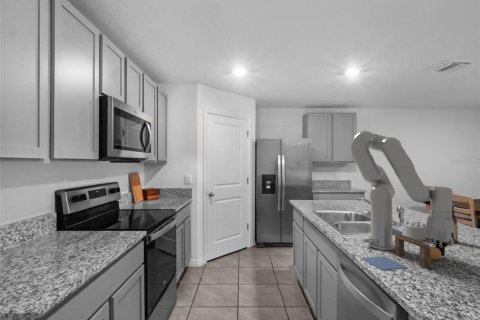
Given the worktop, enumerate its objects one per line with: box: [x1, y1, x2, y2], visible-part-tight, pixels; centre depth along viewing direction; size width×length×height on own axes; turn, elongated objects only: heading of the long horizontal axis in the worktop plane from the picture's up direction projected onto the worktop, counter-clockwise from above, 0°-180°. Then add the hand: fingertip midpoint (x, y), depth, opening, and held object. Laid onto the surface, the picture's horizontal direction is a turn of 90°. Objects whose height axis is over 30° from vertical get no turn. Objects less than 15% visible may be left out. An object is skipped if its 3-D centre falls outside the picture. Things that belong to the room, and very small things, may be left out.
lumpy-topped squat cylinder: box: [403, 220, 427, 241], centre depth 138 cm, size 10×13×9 cm
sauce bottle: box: [452, 204, 459, 244], centre depth 130 cm, size 7×6×20 cm
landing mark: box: [361, 255, 408, 271], centre depth 103 cm, size 12×12×1 cm
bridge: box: [394, 234, 431, 269], centre depth 105 cm, size 3×14×9 cm, turn 10°
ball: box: [430, 245, 442, 261], centre depth 107 cm, size 6×6×6 cm
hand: (439, 255), depth 108 cm, fingers closed
